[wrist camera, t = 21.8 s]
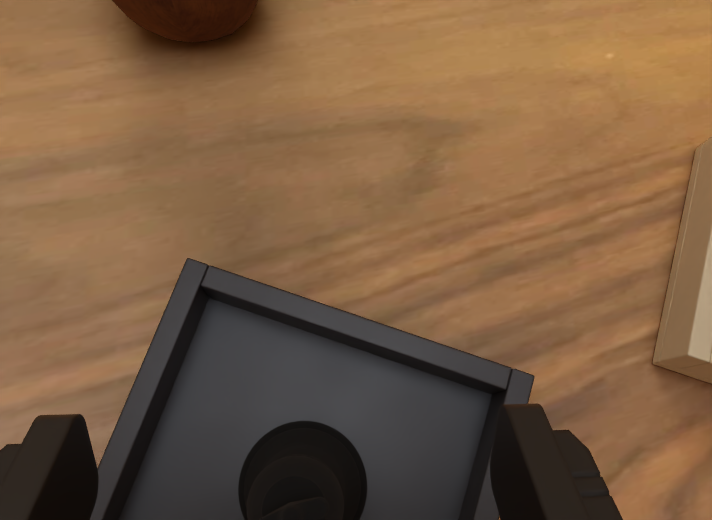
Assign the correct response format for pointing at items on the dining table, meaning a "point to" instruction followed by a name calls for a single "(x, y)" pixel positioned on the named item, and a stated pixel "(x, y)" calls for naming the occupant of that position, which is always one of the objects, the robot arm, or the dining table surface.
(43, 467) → the robot arm
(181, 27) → the wooden figurine
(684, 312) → the cream tray
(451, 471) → the charcoal tray
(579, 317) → the dining table surface
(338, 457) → the chess piece
